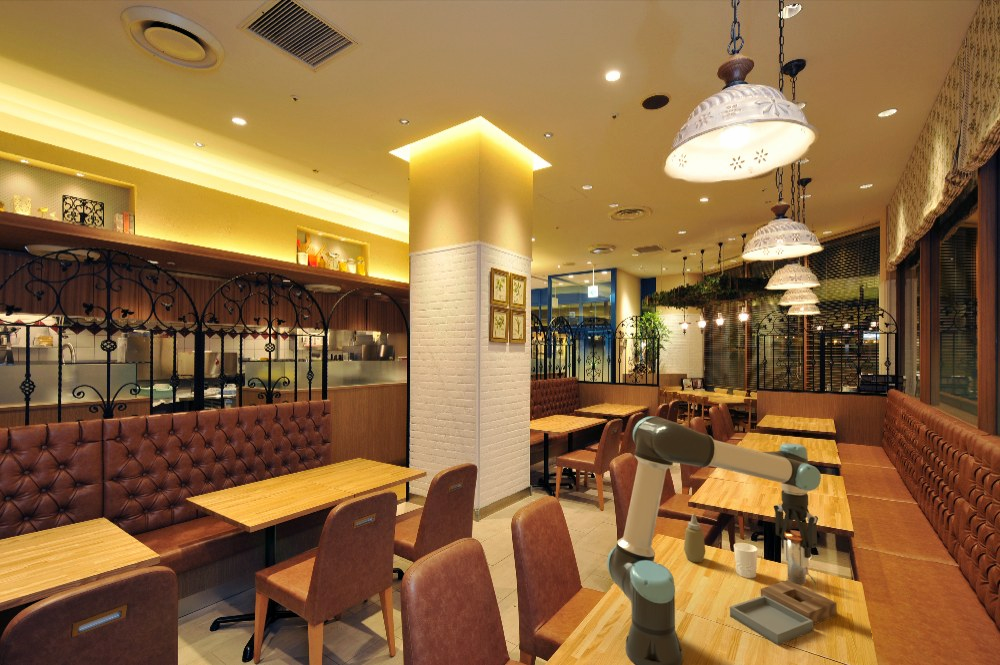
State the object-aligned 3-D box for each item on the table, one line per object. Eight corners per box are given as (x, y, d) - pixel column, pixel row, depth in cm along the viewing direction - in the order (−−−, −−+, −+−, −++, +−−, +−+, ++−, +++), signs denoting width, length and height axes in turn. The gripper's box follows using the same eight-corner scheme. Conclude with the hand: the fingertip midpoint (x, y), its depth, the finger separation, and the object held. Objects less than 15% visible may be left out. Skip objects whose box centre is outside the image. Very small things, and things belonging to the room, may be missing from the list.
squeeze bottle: (687, 553, 195) (686, 509, 195) (708, 558, 190) (707, 513, 190) (681, 560, 189) (680, 515, 189) (702, 566, 184) (701, 519, 184)
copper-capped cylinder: (800, 587, 150) (798, 539, 150) (780, 578, 156) (779, 532, 156) (812, 583, 153) (811, 535, 153) (793, 574, 158) (792, 528, 159)
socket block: (808, 626, 144) (808, 613, 144) (760, 600, 158) (760, 588, 158) (836, 615, 150) (836, 602, 150) (788, 591, 164) (787, 579, 164)
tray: (777, 645, 135) (777, 634, 135) (730, 616, 150) (729, 606, 150) (813, 630, 142) (813, 620, 142) (764, 604, 156) (764, 595, 156)
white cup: (736, 577, 174) (735, 550, 175) (732, 567, 182) (732, 541, 182) (760, 580, 172) (759, 552, 172) (755, 570, 180) (754, 544, 180)
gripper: (830, 498, 148) (832, 572, 148) (776, 483, 165) (777, 550, 164) (815, 501, 145) (817, 577, 145) (761, 485, 162) (763, 554, 161)
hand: (796, 562), depth 154 cm, fingers closed on copper-capped cylinder, 5 cm apart
